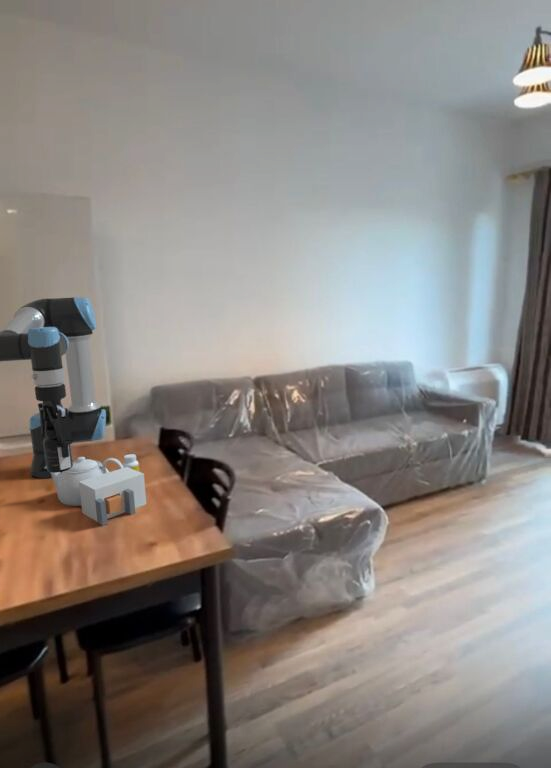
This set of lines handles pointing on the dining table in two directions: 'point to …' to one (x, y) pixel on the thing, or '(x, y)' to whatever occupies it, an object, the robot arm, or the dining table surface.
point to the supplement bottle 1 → (53, 451)
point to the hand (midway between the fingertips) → (59, 464)
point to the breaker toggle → (113, 504)
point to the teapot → (78, 478)
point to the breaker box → (112, 493)
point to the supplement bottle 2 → (131, 462)
